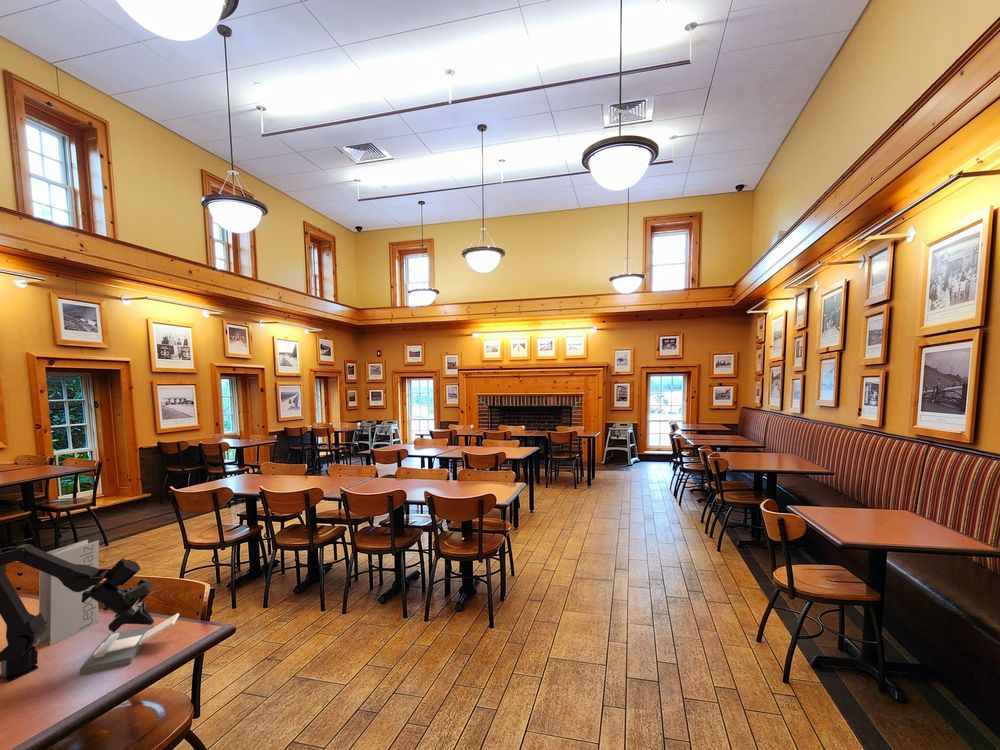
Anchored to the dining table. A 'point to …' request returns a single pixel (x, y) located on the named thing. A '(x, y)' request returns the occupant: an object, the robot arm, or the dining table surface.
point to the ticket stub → (159, 628)
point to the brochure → (67, 595)
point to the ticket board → (115, 650)
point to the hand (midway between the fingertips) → (152, 623)
